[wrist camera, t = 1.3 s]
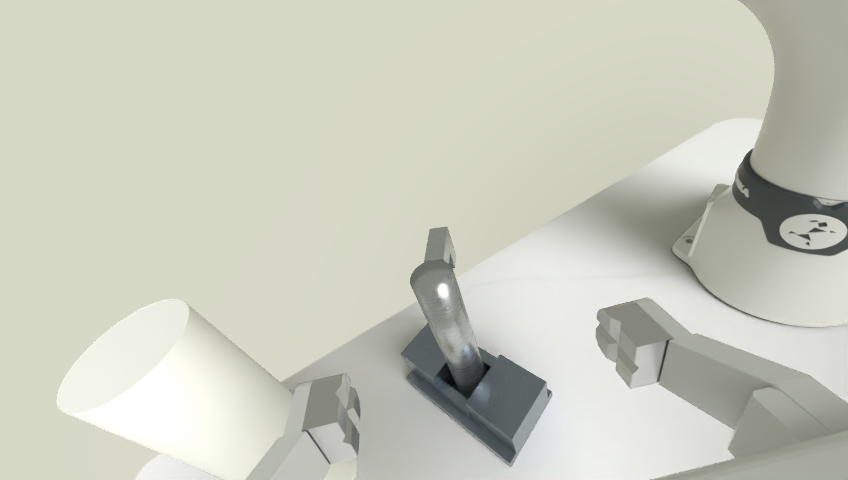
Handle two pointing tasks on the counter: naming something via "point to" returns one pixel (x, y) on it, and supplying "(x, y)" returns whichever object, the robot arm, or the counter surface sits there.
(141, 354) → the cylindrical container
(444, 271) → the brushed metal post
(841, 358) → the counter surface
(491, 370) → the vise
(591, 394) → the counter surface
